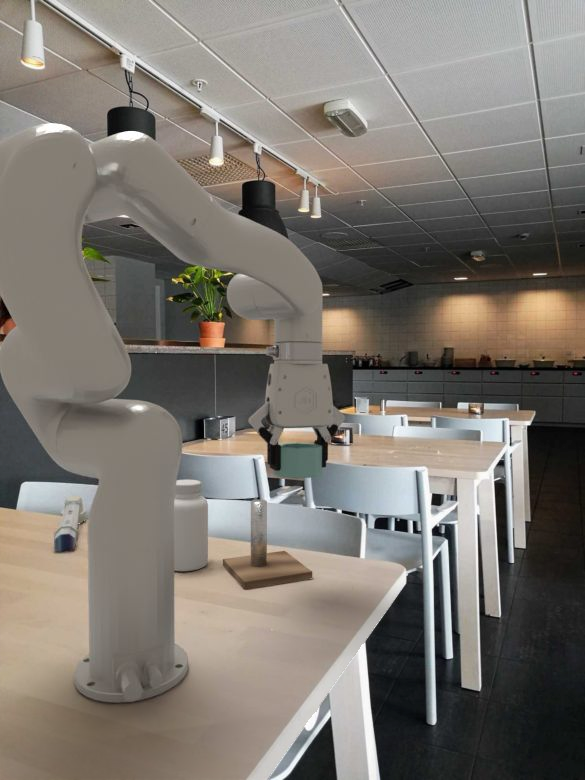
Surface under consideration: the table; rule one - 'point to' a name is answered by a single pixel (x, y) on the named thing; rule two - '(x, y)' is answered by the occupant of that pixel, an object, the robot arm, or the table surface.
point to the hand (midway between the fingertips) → (297, 466)
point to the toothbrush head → (69, 524)
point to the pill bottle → (190, 526)
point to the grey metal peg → (258, 533)
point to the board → (267, 570)
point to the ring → (300, 460)
